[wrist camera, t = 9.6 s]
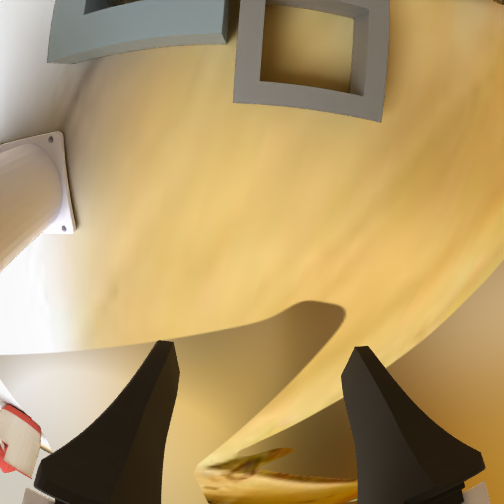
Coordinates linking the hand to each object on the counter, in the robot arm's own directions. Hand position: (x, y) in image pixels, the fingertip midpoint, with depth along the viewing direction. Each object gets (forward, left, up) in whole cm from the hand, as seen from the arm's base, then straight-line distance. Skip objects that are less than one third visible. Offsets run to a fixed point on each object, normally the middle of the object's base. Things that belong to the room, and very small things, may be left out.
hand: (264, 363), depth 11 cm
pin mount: (+2, +13, -10) cm, 17 cm away
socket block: (-8, +18, -10) cm, 22 cm away
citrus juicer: (-58, -55, -11) cm, 81 cm away
